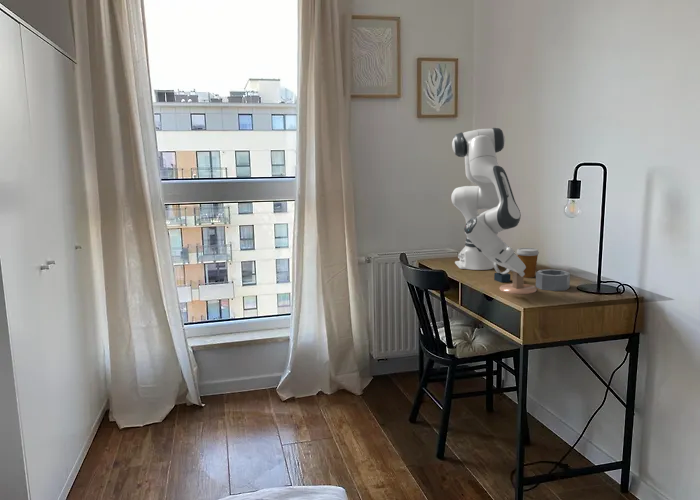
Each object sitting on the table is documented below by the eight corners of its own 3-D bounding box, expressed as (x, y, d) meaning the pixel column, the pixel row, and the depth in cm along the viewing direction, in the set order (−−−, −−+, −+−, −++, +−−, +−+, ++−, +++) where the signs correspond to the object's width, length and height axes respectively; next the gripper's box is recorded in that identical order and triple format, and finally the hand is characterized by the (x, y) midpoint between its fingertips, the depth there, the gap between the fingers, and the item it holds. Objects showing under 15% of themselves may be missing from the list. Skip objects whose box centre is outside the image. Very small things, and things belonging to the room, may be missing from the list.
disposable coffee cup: (542, 277, 246) (543, 250, 244) (522, 279, 244) (523, 251, 242) (531, 273, 255) (532, 247, 253) (511, 274, 253) (512, 248, 251)
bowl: (531, 284, 233) (531, 270, 232) (558, 282, 235) (558, 268, 234) (546, 291, 221) (547, 276, 220) (574, 289, 223) (575, 274, 222)
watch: (514, 281, 241) (514, 255, 239) (497, 283, 238) (498, 257, 237) (506, 278, 246) (507, 253, 244) (490, 280, 244) (490, 255, 242)
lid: (493, 288, 230) (493, 263, 229) (523, 284, 234) (524, 260, 232) (511, 296, 217) (511, 270, 215) (543, 292, 220) (544, 267, 219)
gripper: (480, 252, 231) (502, 274, 235) (503, 261, 211) (526, 285, 215) (490, 241, 231) (512, 263, 235) (514, 249, 211) (537, 273, 215)
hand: (519, 274), depth 225 cm, fingers open, 4 cm apart
